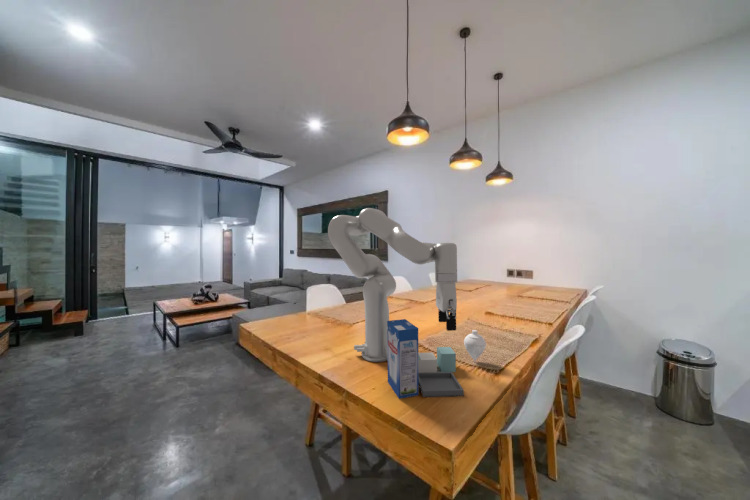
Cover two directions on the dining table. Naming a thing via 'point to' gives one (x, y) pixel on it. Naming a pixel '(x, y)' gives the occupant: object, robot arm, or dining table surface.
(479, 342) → the spinning top
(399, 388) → the milk carton
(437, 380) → the tray
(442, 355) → the teal block
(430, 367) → the light grey block
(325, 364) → the dining table surface
